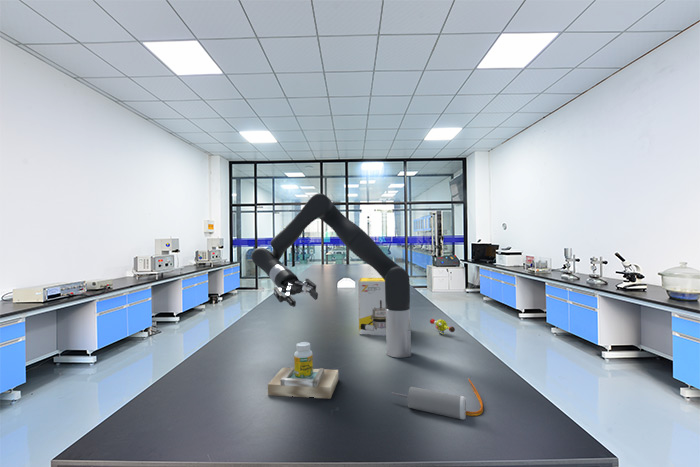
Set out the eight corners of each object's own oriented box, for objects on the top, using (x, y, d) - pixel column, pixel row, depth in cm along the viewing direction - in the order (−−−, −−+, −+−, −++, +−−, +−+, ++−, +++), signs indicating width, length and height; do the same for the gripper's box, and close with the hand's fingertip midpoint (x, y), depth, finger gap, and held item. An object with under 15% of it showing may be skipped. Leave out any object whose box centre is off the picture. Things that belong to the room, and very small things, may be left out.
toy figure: (425, 329, 150) (425, 316, 151) (435, 328, 152) (435, 315, 152) (448, 340, 133) (447, 324, 133) (458, 339, 135) (458, 323, 135)
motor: (481, 427, 70) (481, 403, 71) (388, 406, 79) (389, 385, 80) (485, 398, 90) (485, 380, 91) (411, 384, 100) (411, 368, 101)
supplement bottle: (308, 371, 94) (307, 340, 94) (316, 377, 89) (315, 344, 90) (291, 376, 91) (291, 343, 91) (298, 382, 86) (298, 348, 87)
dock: (338, 379, 95) (338, 365, 96) (330, 399, 83) (330, 382, 84) (283, 377, 98) (282, 362, 98) (267, 395, 86) (267, 379, 86)
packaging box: (392, 326, 158) (391, 277, 159) (394, 335, 142) (393, 281, 143) (361, 326, 160) (360, 277, 161) (359, 335, 143) (358, 281, 144)
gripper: (265, 273, 108) (287, 297, 96) (300, 265, 116) (324, 286, 105) (264, 291, 111) (286, 316, 99) (299, 281, 119) (322, 304, 108)
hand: (306, 300), depth 102 cm, fingers open, 8 cm apart
